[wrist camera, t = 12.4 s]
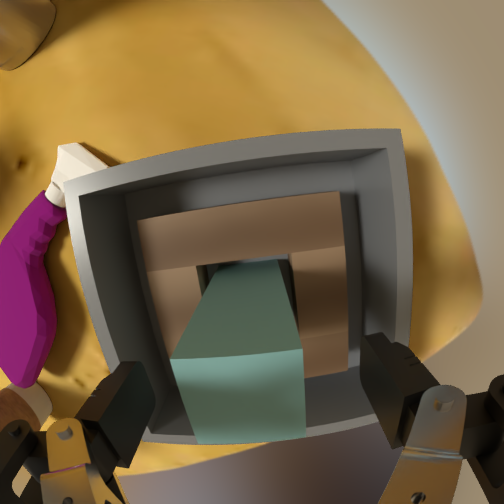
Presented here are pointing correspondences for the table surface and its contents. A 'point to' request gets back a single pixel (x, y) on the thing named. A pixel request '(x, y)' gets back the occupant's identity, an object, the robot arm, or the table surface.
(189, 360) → the peg
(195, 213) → the plate
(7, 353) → the spray bottle
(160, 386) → the crate
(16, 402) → the coffee cup
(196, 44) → the table surface
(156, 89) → the table surface
